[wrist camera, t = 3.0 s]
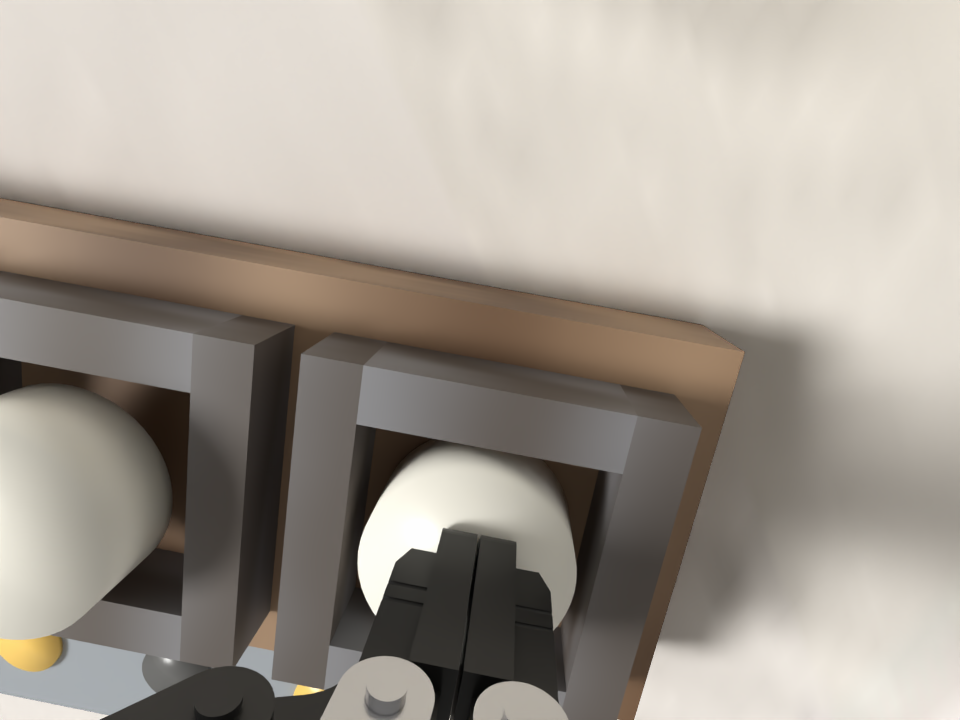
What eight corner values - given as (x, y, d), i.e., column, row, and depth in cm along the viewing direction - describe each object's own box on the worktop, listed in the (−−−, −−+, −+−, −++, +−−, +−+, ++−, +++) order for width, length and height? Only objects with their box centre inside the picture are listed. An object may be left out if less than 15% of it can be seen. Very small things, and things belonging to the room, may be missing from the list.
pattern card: (-14, 679, 20) (-29, 693, 19) (-22, 554, 19) (-39, 565, 18) (382, 759, 20) (377, 776, 19) (401, 637, 18) (397, 652, 18)
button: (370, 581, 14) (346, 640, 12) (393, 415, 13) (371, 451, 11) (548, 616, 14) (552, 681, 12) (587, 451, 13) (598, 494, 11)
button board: (-220, 475, 18) (-484, 570, 14) (-274, 148, 16) (-624, 121, 11) (614, 638, 18) (649, 799, 13) (702, 324, 15) (786, 378, 10)
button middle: (-23, 553, 13) (-120, 614, 11) (-36, 364, 12) (-148, 396, 10) (169, 591, 13) (106, 660, 11) (175, 405, 11) (105, 444, 10)
